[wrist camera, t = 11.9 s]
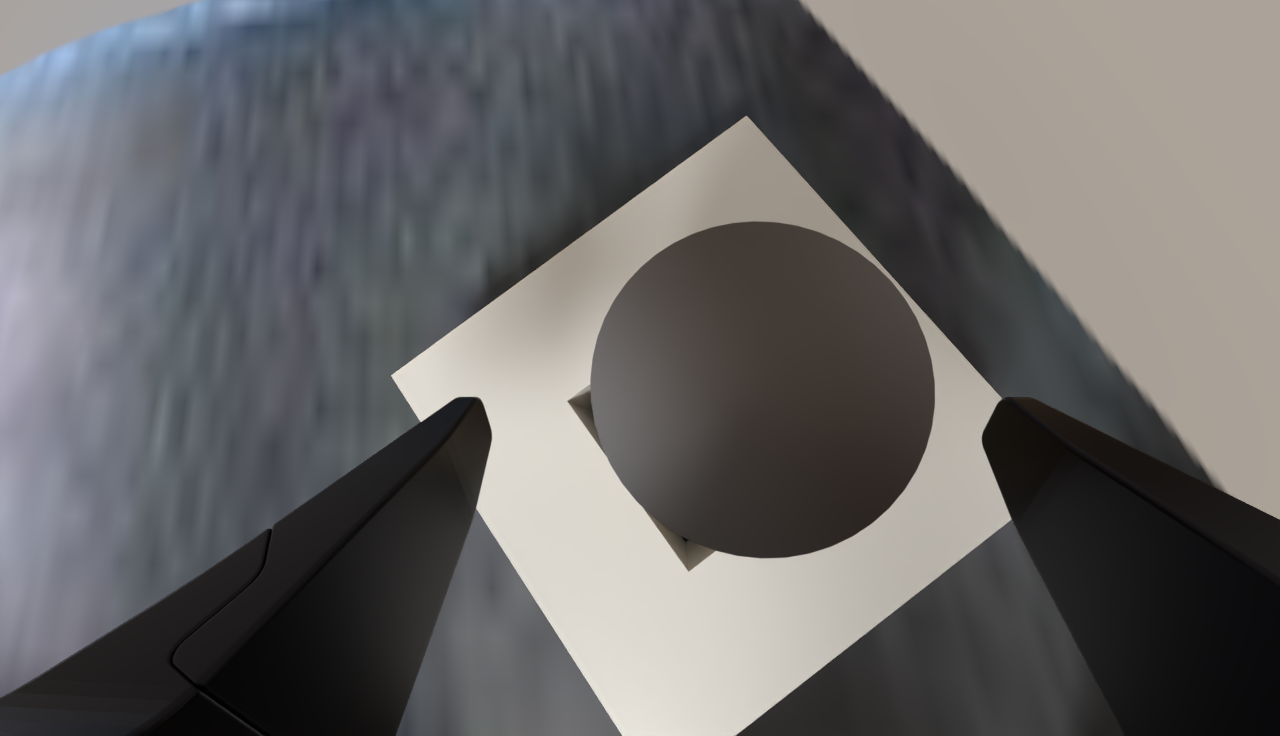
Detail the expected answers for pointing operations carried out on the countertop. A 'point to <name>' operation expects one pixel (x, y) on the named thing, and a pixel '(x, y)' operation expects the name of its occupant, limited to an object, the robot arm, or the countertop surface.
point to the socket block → (637, 542)
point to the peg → (762, 389)
